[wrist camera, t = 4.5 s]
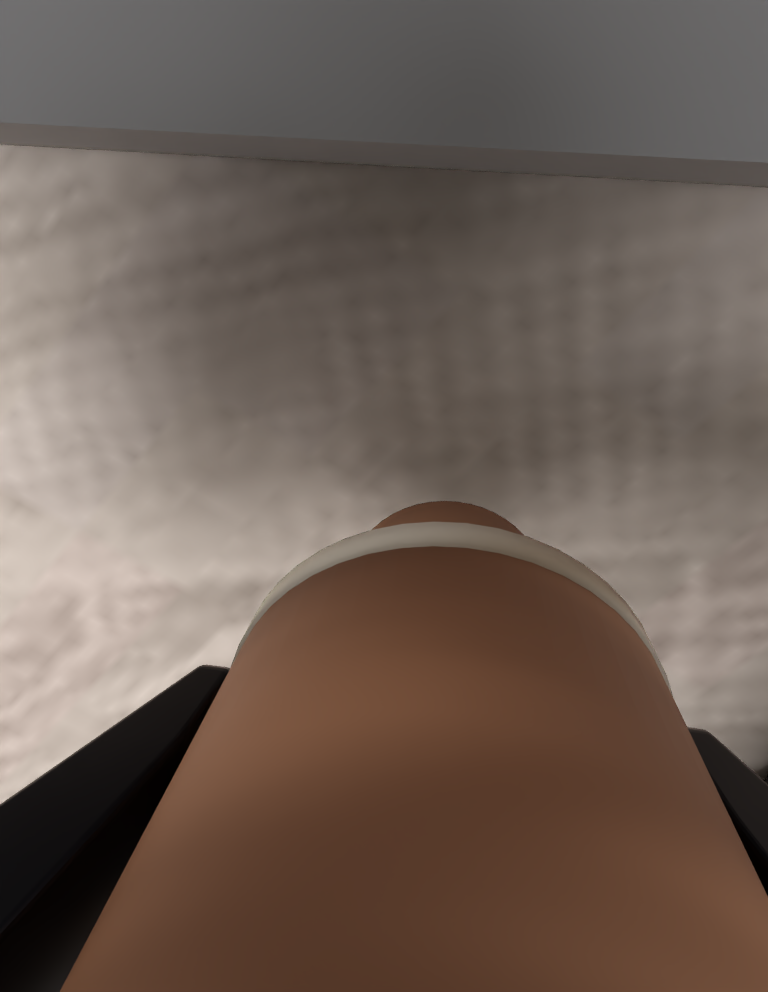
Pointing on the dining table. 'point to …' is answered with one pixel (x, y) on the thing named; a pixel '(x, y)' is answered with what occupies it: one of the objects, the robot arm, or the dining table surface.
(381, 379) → the dining table surface
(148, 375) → the dining table surface
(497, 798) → the mahogany dowel
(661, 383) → the dining table surface
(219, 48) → the charcoal board
